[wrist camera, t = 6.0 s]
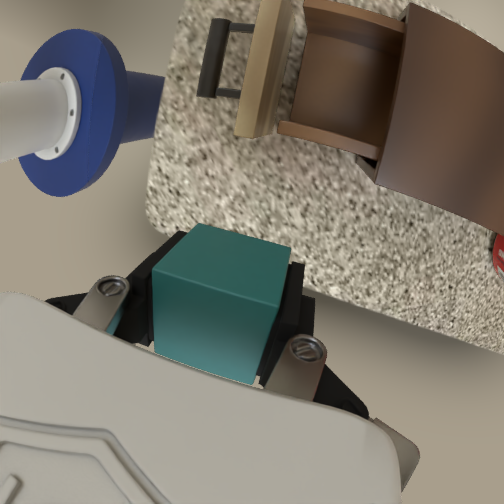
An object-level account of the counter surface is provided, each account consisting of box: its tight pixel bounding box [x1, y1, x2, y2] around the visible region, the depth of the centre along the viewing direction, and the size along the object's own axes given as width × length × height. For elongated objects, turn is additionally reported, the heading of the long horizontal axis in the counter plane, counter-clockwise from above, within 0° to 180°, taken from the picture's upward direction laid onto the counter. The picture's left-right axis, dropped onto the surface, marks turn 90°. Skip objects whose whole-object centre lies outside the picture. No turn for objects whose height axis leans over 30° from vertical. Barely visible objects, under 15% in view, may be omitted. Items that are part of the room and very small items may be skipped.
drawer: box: [196, 0, 405, 161], centre depth 16 cm, size 16×10×7 cm, turn 79°
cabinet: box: [356, 2, 504, 236], centre depth 14 cm, size 13×11×8 cm
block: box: [152, 223, 291, 385], centre depth 11 cm, size 4×4×4 cm
